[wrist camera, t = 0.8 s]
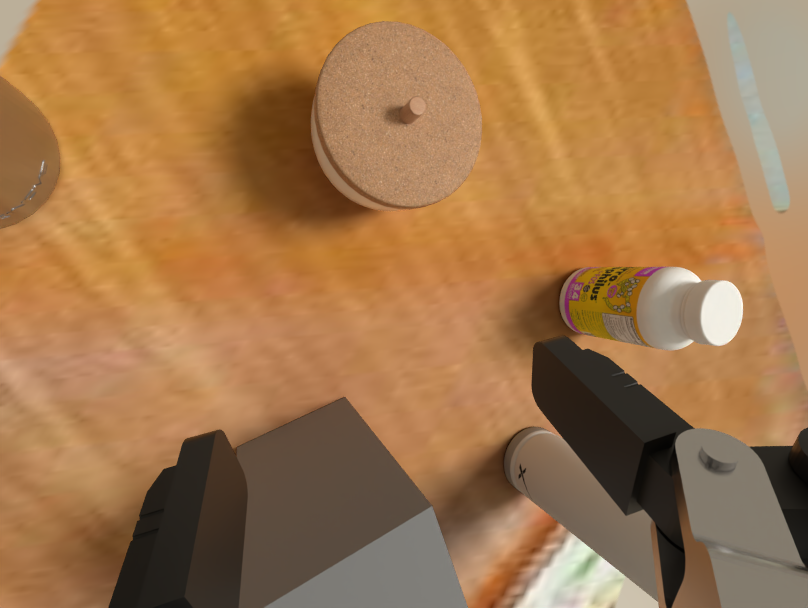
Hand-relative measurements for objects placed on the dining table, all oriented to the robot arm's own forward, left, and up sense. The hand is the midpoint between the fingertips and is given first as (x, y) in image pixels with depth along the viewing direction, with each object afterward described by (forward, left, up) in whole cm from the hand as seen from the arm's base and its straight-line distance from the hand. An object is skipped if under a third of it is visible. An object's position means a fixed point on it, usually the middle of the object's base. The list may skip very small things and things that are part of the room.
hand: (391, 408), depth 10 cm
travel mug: (+26, +1, -22) cm, 34 cm away
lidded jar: (-3, +14, -22) cm, 26 cm away
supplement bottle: (+22, +17, -22) cm, 35 cm away
